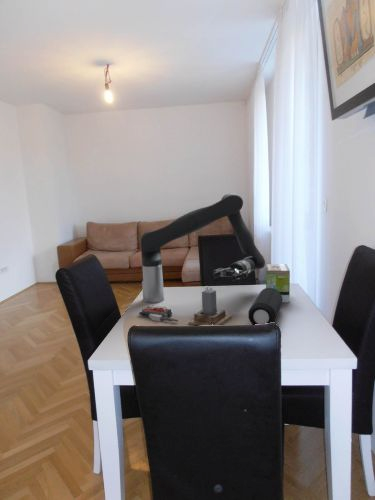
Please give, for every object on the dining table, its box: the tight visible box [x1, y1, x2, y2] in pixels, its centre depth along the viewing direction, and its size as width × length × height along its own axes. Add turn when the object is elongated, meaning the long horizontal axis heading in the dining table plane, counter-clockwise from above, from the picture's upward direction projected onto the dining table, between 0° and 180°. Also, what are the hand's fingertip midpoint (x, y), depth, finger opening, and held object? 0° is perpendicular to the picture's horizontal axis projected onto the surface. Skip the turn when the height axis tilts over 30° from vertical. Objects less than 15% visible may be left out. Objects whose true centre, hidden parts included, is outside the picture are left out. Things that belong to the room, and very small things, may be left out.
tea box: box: [265, 263, 291, 303], centre depth 163 cm, size 15×10×15 cm, turn 170°
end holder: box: [187, 308, 232, 326], centre depth 138 cm, size 12×13×4 cm
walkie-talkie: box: [138, 305, 179, 323], centre depth 146 cm, size 9×4×20 cm
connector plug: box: [201, 285, 218, 316], centre depth 138 cm, size 4×4×13 cm
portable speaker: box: [247, 287, 283, 326], centre depth 137 cm, size 26×10×10 cm, turn 159°
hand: (223, 276), depth 147 cm, fingers open, 8 cm apart
